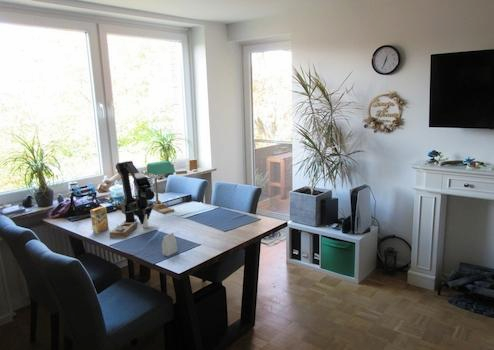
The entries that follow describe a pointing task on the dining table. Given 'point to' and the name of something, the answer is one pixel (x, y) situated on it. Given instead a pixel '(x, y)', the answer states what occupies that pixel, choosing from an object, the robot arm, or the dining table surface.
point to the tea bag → (169, 244)
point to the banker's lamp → (156, 169)
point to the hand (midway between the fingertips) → (145, 221)
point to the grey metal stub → (120, 227)
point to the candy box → (99, 219)
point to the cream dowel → (145, 222)
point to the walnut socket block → (126, 230)
